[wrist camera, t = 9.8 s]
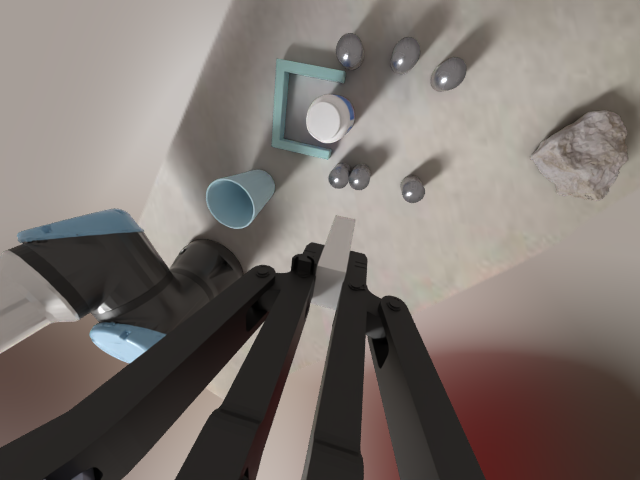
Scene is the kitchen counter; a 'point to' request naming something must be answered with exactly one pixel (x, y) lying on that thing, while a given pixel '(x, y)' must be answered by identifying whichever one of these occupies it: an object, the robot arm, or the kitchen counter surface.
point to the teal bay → (281, 102)
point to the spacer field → (401, 63)
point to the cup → (239, 197)
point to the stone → (584, 155)
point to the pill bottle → (330, 118)
